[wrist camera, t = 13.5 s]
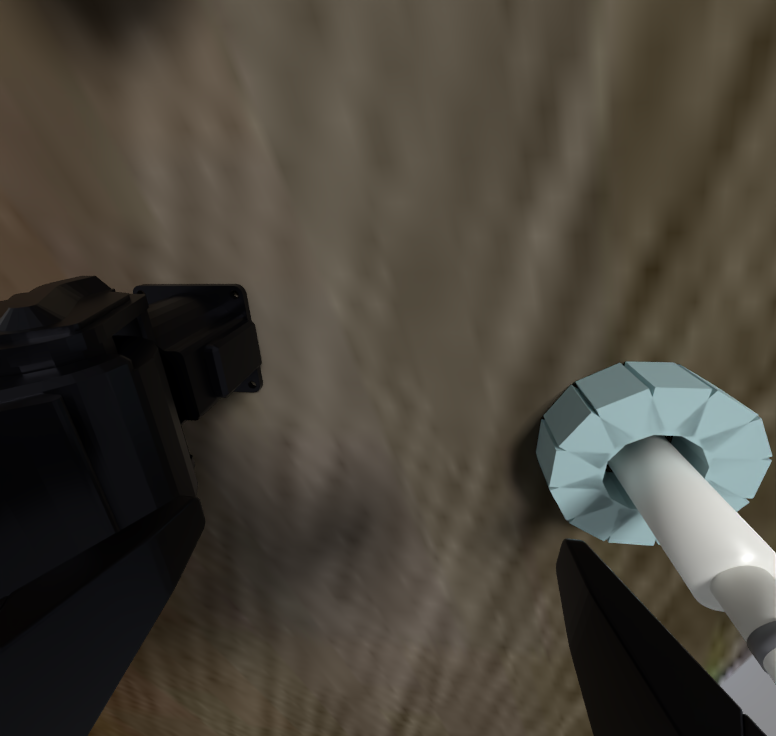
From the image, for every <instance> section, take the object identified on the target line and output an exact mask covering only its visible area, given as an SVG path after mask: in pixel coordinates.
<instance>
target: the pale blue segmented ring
mask: <svg viewBox="0 0 776 736" xmlns="http://www.w3.org/2000/svg"><path fill="white" fill-rule="evenodd" d="M576 384H577V387H578V388H576V387H574V386H573V385H570V386H569V387H568V389H567V390H566V391H565V392H564V393H563V394H562V395H561V396H560V398H559V399H558V400H557V401H556V402H555V403H554V404H553V405H552V406H551V408H550V409H549V410H548V411H547V412H546V413H545V414H544V415H543V416H544V418H545V420H543V419H541V425H540V431H539V437H538V443H537V449H536V454H537V459H538V462H539V464H540V467H541V469H542V472H543V474H544V477H545V479H546V482H547V484H548V487H549V490H550V492H551V493H552V495H553V497H554V499H555V501H556V502H557V504H558V506H559V508H560V510H561V511H562V513H563V515H564V517H565V519H566V520H568V521H569V523H570V524H572V525H574V526H576V527H578V528H580V529H582V530H583V531H585V532H587V533H589V534H591V535H593V536H595V537H597V538H599V539H601V540H603V541H605V540H606V539H607V541H608V542H610V543H624V544H638V545H652V546H653V545H654V543H655V540H656V542H657V543H658V545H660V543H659V542H658V540H657V539H656V537H655V536H654V534H653V533H652V531H651V530H650V528H649V526H648V525H647V523H646V522H645V520H644V519H643V517H642V516H641V514H640V513H639V511H638V510H637V508H636V506H635V505H634V503H633V502H632V500H631V499H630V497H629V496H628V494H627V493H626V491H625V489H624V488H623V486H622V485H621V483H620V482H619V480H618V479H617V477H616V476H615V474H614V473H613V472H606V471H605V469H606V466H607V462H608V461H609V460H610V459H611V458H612V457H613V456H614V455H616V454H617V453H618V452H619V451H620V450H621V449H622V448H623V447H624V446H625V445H627V444H629V443H632V442H635V441H638V440H641V439H643V438H646V437H649V436H652V435H667V436H673V438H672V441H671V444H672V445H673V446H674V447H675V448H676V449H677V451H678V452H679V453H680V454H681V455H682V456H683V457H684V458H685V459H686V460H687V461H688V462H689V463H690V464H691V465H692V466H693V467H694V468H695V469H696V470H697V471H698V472H699V473H700V475H701V476H702V477H703V478H704V479H705V480H706V481H707V482H708V483H709V484H710V485H711V486H712V487H713V488H714V489H715V490H716V491H717V492H718V493H719V494H720V495H721V496H722V497H723V499H724V500H725V501H726V502H727V503H728V504H729V505H730V506H731V507H732V508H733V509H734V510H735V511H736V512H737V511H738V510H739V509H741V508H742V507H744V506H745V505H746V504H748V503H749V501H748V500H747V499H746V498H753V497H754V495H755V493H756V491H757V489H758V487H759V485H760V483H761V481H762V479H763V477H764V475H765V473H766V471H767V469H768V467H769V465H770V463H771V461H772V460H770V459H769V458H768V457H771V456H772V454H771V450H770V447H769V443H768V440H767V436H766V433H765V429H764V426H763V422H762V419H761V418H760V417H758V414H756V413H755V412H754V411H752V410H751V409H749V408H748V407H746V406H745V405H743V404H742V403H740V402H739V401H737V400H736V399H734V398H733V397H731V396H730V395H728V394H727V393H725V392H724V391H722V390H721V389H719V388H718V387H716V386H715V385H713V384H711V383H710V382H708V381H706V380H705V379H703V378H702V377H700V376H698V375H697V374H695V373H693V372H692V371H690V370H688V369H687V368H685V367H683V366H682V365H680V364H678V365H677V364H675V363H672V362H625V365H624V366H623V365H622V364H621V363H618V364H616V365H613V366H611V367H609V368H606V369H604V370H602V371H599V372H597V373H594V374H592V375H590V376H587V377H585V378H583V379H580V380H578V381H576Z"/></svg>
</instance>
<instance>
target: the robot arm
mask: <svg viewBox="0 0 776 736" xmlns="http://www.w3.org/2000/svg"><path fill="white" fill-rule="evenodd" d="M234 290H235V291H237V292H238V294H239V297H236V296H234V294H233V291H234ZM142 291H143V292H145V294H146V295H145V294H143V293H142ZM261 363H262V361H261V356H260V350H259V345H258V339H257V334H256V328H255V324H254V323H253V322H252V321H251V316H250V310H249V305H248V299H247V294H246V291H245V289H244V288H243V287H242V286H241V285H238V284H143V285H139V286H136V287H135V288H134V290H133V294H129V293H120V292H115V289H111V288H110V287H108V286H107V285H106V284H105V283H104V282H102V281H101V280H100V279H99V278H97V277H96V276H79V277H75V278H70V279H66V280H61V281H57V282H53V283H49V284H45V285H42V286H39V287H37V288H35V289H33V290H32V291H30V292H28V293H20V294H15V295H13V296H12V297H10V298H9V299H8V300H4V301H0V736H88V734H89V732H90V731H91V729H92V727H93V726H94V724H95V722H96V721H97V719H98V717H99V716H100V714H101V712H102V710H103V709H104V707H105V705H106V704H107V702H108V700H109V699H110V697H111V695H112V694H113V692H114V690H115V689H116V687H117V685H118V684H119V682H120V680H121V679H122V677H123V675H124V673H125V672H126V670H127V668H128V667H129V665H130V663H131V662H132V660H133V658H134V657H135V655H136V653H137V652H138V650H139V648H140V647H141V645H142V643H143V642H144V640H145V638H146V636H147V635H148V633H149V631H150V630H151V628H152V626H153V625H154V623H155V621H156V620H157V618H158V616H159V615H160V613H161V611H162V610H163V608H164V606H165V605H166V603H167V601H168V599H169V598H170V596H171V594H172V592H173V591H174V589H175V587H176V585H177V583H178V581H179V579H180V577H181V575H182V573H183V571H184V569H185V567H186V565H187V563H188V561H189V558H190V556H191V554H192V552H193V550H194V548H195V546H196V544H197V542H198V540H199V538H200V536H201V533H202V531H203V529H204V526H205V517H204V513H203V510H202V506H201V502H200V499H199V498H198V497H197V487H198V482H197V479H196V475H195V472H194V467H195V463H194V459H193V456H192V455H190V453H189V450H188V447H187V443H186V440H185V436H184V433H183V430H182V426H181V425H182V424H183V423H184V422H185V421H186V420H198V419H199V418H200V417H201V416H202V415H203V414H205V413H206V412H207V411H208V410H209V409H210V408H211V407H212V406H213V405H214V404H215V403H216V402H217V401H218V400H219V399H221V398H226V397H228V396H229V395H230V394H231V393H232V392H257V391H258V390H259V389H260V388H261V387H262V385H263V380H262V375H261V370H260V365H261ZM251 381H253V382H255V383H256V386H255V385H253V384H252V383H251ZM556 574H557V580H558V585H559V591H560V597H561V603H562V609H563V614H564V620H565V626H566V632H567V637H568V642H569V647H570V651H571V655H572V659H573V663H574V667H575V670H576V674H577V678H578V681H579V685H580V688H581V692H582V696H583V699H584V703H585V706H586V710H587V714H588V717H589V721H590V724H591V728H592V732H593V735H594V736H767V735H766V734H765V733H764V732H763V731H761V729H760V728H759V727H758V726H757V725H756V724H755V723H754V722H753V721H752V719H750V717H749V716H748V715H746V714H743V712H742V709H741V708H740V707H739V706H738V705H737V704H736V703H735V702H734V701H733V699H732V698H731V697H730V696H729V695H728V694H727V693H726V692H725V691H724V690H723V689H722V688H721V687H720V686H719V684H718V683H717V682H716V681H715V680H714V679H713V678H712V677H711V676H710V675H709V674H708V673H707V672H706V671H705V670H704V668H703V667H702V666H701V665H700V664H699V663H698V662H697V661H696V660H695V659H694V658H693V657H692V656H691V655H690V654H689V652H688V651H687V650H686V649H685V648H684V647H683V646H682V645H681V644H680V643H679V642H678V641H677V640H676V639H675V638H674V636H673V635H672V634H671V633H670V632H669V631H668V630H667V629H666V628H665V627H664V626H663V625H662V624H661V623H660V622H659V620H658V619H657V618H656V617H655V616H654V615H653V614H652V613H651V612H650V611H649V610H648V609H647V608H646V607H645V606H644V604H643V603H642V602H641V601H640V600H639V599H638V598H637V597H636V596H635V595H634V594H633V593H632V592H631V591H630V590H629V588H628V587H627V586H626V585H625V584H624V583H623V582H622V581H621V580H620V579H619V578H618V577H617V576H616V575H615V574H614V572H613V571H612V570H611V569H610V568H609V567H608V566H607V565H606V564H605V563H604V562H603V561H602V560H601V559H600V557H599V556H598V555H597V554H596V553H595V552H594V551H593V550H592V549H591V548H590V547H589V546H588V545H587V544H586V543H585V542H584V541H582V540H576V539H564V540H563V542H562V545H561V548H560V552H559V555H558V559H557V563H556Z"/></svg>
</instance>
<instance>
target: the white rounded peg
mask: <svg viewBox="0 0 776 736" xmlns="http://www.w3.org/2000/svg"><path fill="white" fill-rule="evenodd" d="M607 463H608V465H609V466H610V468H611V469H612V471H613V473H614V474H615V476H616V477H617V479H618V480H619V482H620V483H621V485H622V486H623V488H624V489H625V491H626V493H627V494H628V496H629V497H630V499H631V500H632V502H633V503H634V505H635V506H636V508H637V510H638V511H639V513H640V514H641V516H642V517H643V519H644V520H645V522H646V523H647V525H648V526H649V528H650V530H651V531H652V533H653V534H654V536H655V537H656V539H657V540H658V542H659V543H660V545H661V546H662V548H663V550H664V551H665V553H666V554H667V556H668V557H669V559H670V560H671V562H672V563H673V565H674V567H675V568H676V570H677V571H678V573H679V574H680V576H681V577H682V579H683V580H684V582H685V583H686V585H687V587H688V588H689V590H690V591H691V593H692V594H693V596H694V597H695V599H696V600H697V601H698V602H699V603H700V604H702V605H704V606H705V607H708V608H710V609H713V610H717V611H723V612H725V613H726V614H727V615H728V617H729V618H730V620H731V621H732V623H733V624H734V625H735V627H736V628H737V630H738V631H739V633H740V634H741V635H742V637H743V638H744V640H745V641H746V643H747V646H748V648H749V650H750V651H751V653H752V654H753V655H754V657H755V658H756V660H757V661H758V663H759V664H760V665H761V667H762V668H763V670H764V671H765V672H767V673H768V674H769V675H770V677H771V678H772V680H773V681H774V683H775V684H776V553H775V552H774V551H773V550H772V549H771V548H770V547H769V545H768V544H767V543H766V542H765V541H764V540H763V539H762V538H761V537H760V536H759V535H758V534H757V533H756V532H755V531H754V530H753V529H752V528H751V527H750V526H749V525H748V524H747V523H746V521H745V520H744V519H743V518H742V517H741V516H740V515H739V514H738V513H737V512H736V511H735V510H734V509H733V508H732V507H731V506H730V505H729V504H728V503H727V502H726V501H725V500H724V499H723V497H722V496H721V495H720V494H719V493H718V492H717V491H716V490H715V489H714V488H713V487H712V486H711V485H710V484H709V483H708V482H707V481H706V480H705V479H704V478H703V477H702V476H701V475H700V473H699V472H698V471H697V470H696V469H695V468H694V467H693V466H692V465H691V464H690V463H689V462H688V461H687V460H686V459H685V458H684V457H683V456H682V455H681V454H680V453H679V452H678V451H677V449H676V448H675V447H674V446H673V445H672V444H671V443H670V442H669V441H668V440H667V439H666V438H665V437H664V436H663V435H652V436H649V437H646V438H643V439H641V440H638V441H635V442H632V443H629V444H627V445H625V446H624V447H623V448H622V449H621V450H620V451H619V452H618V453H617V454H616V455H614V456H613V457H612V458H611V459H610V460H609V461H608V462H607Z"/></svg>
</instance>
